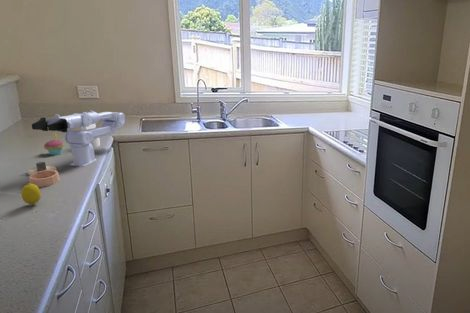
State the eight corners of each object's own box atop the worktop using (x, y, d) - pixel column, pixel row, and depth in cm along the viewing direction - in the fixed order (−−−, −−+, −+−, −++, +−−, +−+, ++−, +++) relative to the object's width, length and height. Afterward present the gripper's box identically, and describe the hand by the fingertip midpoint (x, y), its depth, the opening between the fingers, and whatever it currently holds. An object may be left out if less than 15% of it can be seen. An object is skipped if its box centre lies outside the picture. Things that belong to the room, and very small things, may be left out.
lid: (41, 166, 150) (40, 157, 149) (62, 168, 148) (60, 159, 146) (21, 175, 140) (19, 166, 139) (42, 177, 138) (40, 168, 136)
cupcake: (61, 150, 174) (57, 128, 171) (67, 154, 169) (63, 130, 165) (43, 154, 169) (39, 131, 165) (49, 157, 163) (44, 134, 159)
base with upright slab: (93, 148, 177) (90, 126, 173) (78, 147, 179) (75, 125, 175) (103, 143, 186) (100, 122, 182) (88, 143, 187) (85, 122, 183)
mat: (42, 166, 151) (41, 165, 151) (63, 169, 148) (63, 168, 148) (20, 176, 140) (20, 175, 140) (43, 178, 137) (42, 177, 137)
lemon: (45, 201, 118) (41, 180, 115) (37, 208, 113) (32, 186, 110) (29, 201, 118) (24, 180, 115) (20, 208, 112) (15, 186, 110)
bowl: (44, 177, 139) (43, 169, 138) (65, 179, 137) (63, 171, 136) (24, 186, 130) (22, 178, 129) (46, 189, 128) (44, 180, 126)
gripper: (51, 112, 144) (24, 116, 131) (79, 114, 140) (55, 117, 128) (53, 128, 146) (26, 133, 133) (81, 130, 142) (57, 136, 129)
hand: (40, 127), depth 130 cm, fingers open, 7 cm apart
